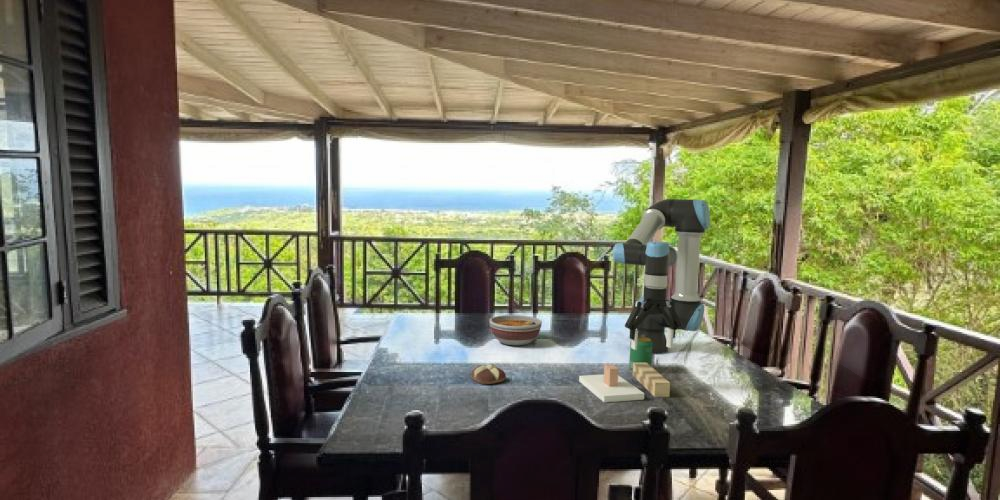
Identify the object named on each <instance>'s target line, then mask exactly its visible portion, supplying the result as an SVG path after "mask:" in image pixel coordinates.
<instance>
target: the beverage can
mask: <svg viewBox="0 0 1000 500" xmlns="http://www.w3.org/2000/svg"><path fill="white" fill-rule="evenodd" d="M629 345H630V346H629V359H628V360H629V362H628V363H629V364H628V367H629V370H630V371H631V370H632V371H631V372H633V363H648V364H649V365H650V366H651V367H652V359H653V357H652V355H653V354H652V342H651V339H649V338H646V337H638V339H637V350H634V349H632V348H631V340H630V344H629Z"/></svg>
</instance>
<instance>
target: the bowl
mask: <svg viewBox="0 0 1000 500" xmlns="http://www.w3.org/2000/svg"><path fill="white" fill-rule="evenodd" d="M542 323H543V322H542V320H541V319H539V318H537V317H534V316H529V315H521V314H504V315H497V316H493V317H491V318H489V327H490V330H491V332H492V334H493V336H494V337H495V339H496V340H498V341H499V342H500V343H501V344H503V345H508V346H525V345H528V344H530V343H532V342H533V341H534V340H535V339H536V338H537V337H538V335H539V334H540V331H541V329H542Z"/></svg>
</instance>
